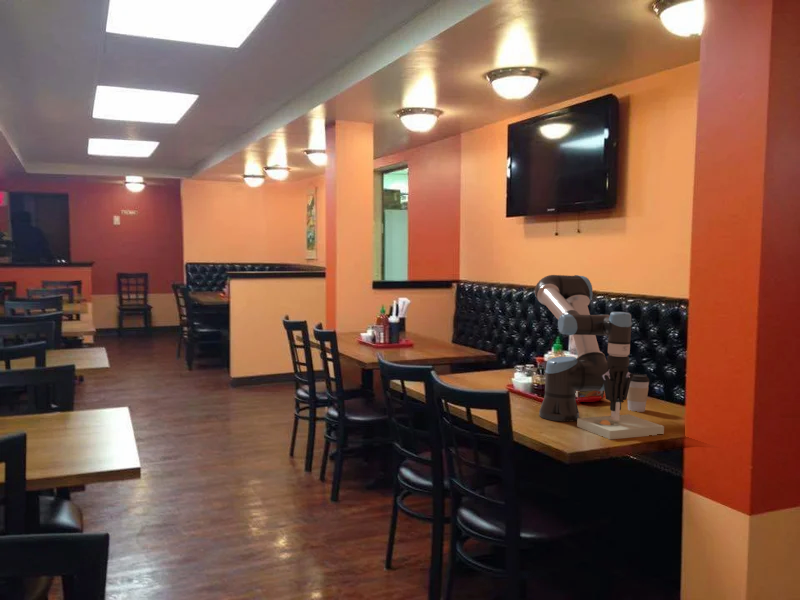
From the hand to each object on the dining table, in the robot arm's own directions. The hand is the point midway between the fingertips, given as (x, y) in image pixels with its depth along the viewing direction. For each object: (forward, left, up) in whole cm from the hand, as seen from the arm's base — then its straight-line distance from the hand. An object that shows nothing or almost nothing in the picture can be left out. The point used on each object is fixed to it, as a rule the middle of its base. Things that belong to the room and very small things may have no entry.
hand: (615, 419), depth 237 cm
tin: (-43, +22, -5) cm, 49 cm away
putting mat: (0, +2, -4) cm, 5 cm away
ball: (0, -4, -2) cm, 5 cm away
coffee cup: (-25, +32, -4) cm, 41 cm away
